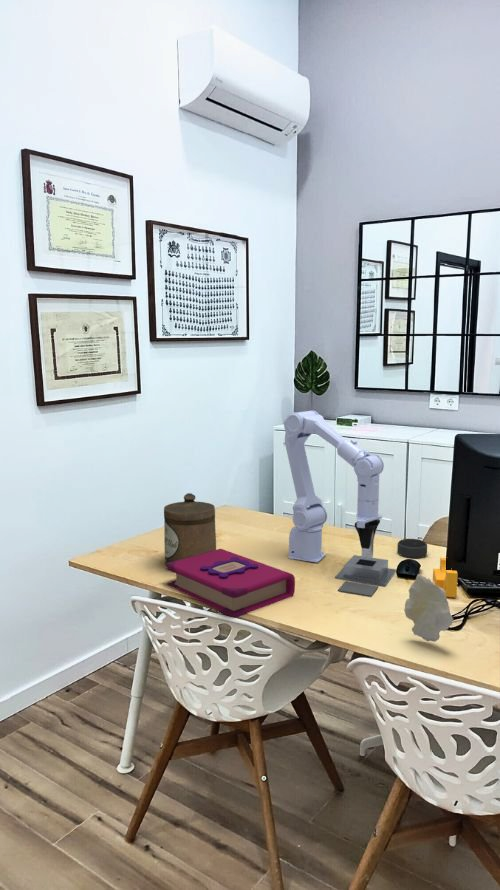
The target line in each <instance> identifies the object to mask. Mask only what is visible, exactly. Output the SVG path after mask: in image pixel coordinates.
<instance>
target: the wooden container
mask: <svg viewBox="0 0 500 890" xmlns="http://www.w3.org/2000/svg"><path fill="white" fill-rule="evenodd" d="M183 500H184V501H178V502H173V503H168V504H166V505H165V506H164V507H163V518H164V520H163V521H164V526H163V527H164V539H163V541H164V564H165V567H166V568H167V563H168V562H172V561H178V560H181V559H185V558H188V557H192V556H196V555H199V554H203V553H206V552H210V551H214V550H217V537H216V533H217V532H216V508H215V505H214V504H212V503H209V502H205V501H195V500H196V495H194V494H193V493H192V492H191V493H190V492H189V493H186V494H185V495H183Z"/></svg>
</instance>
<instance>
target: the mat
mask: <svg viewBox="0 0 500 890" xmlns="http://www.w3.org/2000/svg"><path fill="white" fill-rule="evenodd" d="M378 589H379V586H377V585H371V584H364V583H358V582H352V581H346V580H344V582H343V583H342V585H341V586H339V588H338V589H337V592H338V591H339V593H346V594H351V595H356V596H357V595H358V596H363V597H370V598H372V597H373V596H374V595H375V593H376V592H377V590H378Z"/></svg>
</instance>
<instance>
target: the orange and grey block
mask: <svg viewBox="0 0 500 890" xmlns="http://www.w3.org/2000/svg"><path fill="white" fill-rule="evenodd" d="M374 540H375V536H374V531H373V533H372V537H371V543H370V547H369V549H365V548H361V556H362V558H366V559H371V558H374Z"/></svg>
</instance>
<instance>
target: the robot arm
mask: <svg viewBox="0 0 500 890" xmlns="http://www.w3.org/2000/svg"><path fill="white" fill-rule="evenodd" d="M283 427H284V433H285V435H284V445H285V449H286V455H287V458H288V459H287V460H288V464H289V469H290V472H291V477H292V482H293V485H294V486H293V487H294V491H295V494H296V501H295V502H294V503H293V505H292V510H293V512H292V515H293V516H292V522H293V524H294V526H292V527H291V529H290V531H289V537H288V556H287V558H288V559H290V560H298V561H306V562H310V563H319V562H320V561H322V559H323V558H325V557H326V555H327V553H325V552H323V550H322V547H323V544H322V543H323V541H322V540H323V529H324V524H325V523H326V522H327V520H328V512H327V510H326V508H325V507H324V505H323V501H322V499H321V498H320V497H318V496H317V495H316V493H315V488H314V484H313V483H314V482H313V480H312V479H313V478H312V475H311V470H310V467H309V466H310V465H309V461H308V456H307V451H306V447H305V443H306V441H307V440H308V439H309V437H310V436H311V435H313V434H314V435H315V434H316V435H317V436H318V437H320V438H322V439H323V440H325V441H326V442H327V443H329V444H330V445H332V446H333V447H334V448H336V451H337V452H336V453H337V455H338V456H339V457H340V458H341V459H343V460H344V461H345V462H347V463H348V465H350V466H351V467H352V468H353V471H354V473H355V475H356V476H357V477H356V479H357V480H356V481H357V505H356V506H357V509H356V511H357V513H356V522H354V528H355V530H356V532H357V534H358V537H359V544H360V547H361V549H362V548H365V549H369V547H370V543H371V537H372V533H373V531H374V537H375V536H376V532H377V529H378V526H379V525H380V523H381V520H382V519H383V515H381V514H379V503H380V501H379V500H380V499H379V498H380V497H379V496H380V495H379V494H380V475H381V474H382V472H383V471H384V469H385V468H384V467H385V466H384V462H383V459H382V458H381V457H380V456H379V454H376V453H373V454H371V453H370V451H369V450H366V449H364V447H362V446H361V445H359V444H358V441H357V440H356V439H354V438H353V439H352V438H344V437H343V436H342V435H341V434H340V433H339V432H337V431H336V429H334V428H333V427H332V426H331V425H330V424H329V423H328V422H326V421H325V419H324V416H323V415H321V414H319V412H317V411H315V410H308V411H307V410H306V411H299V412H296V411H295V412H290V413H289V414H288V415H287V416H286V418H285V419H284V421H283Z"/></svg>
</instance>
